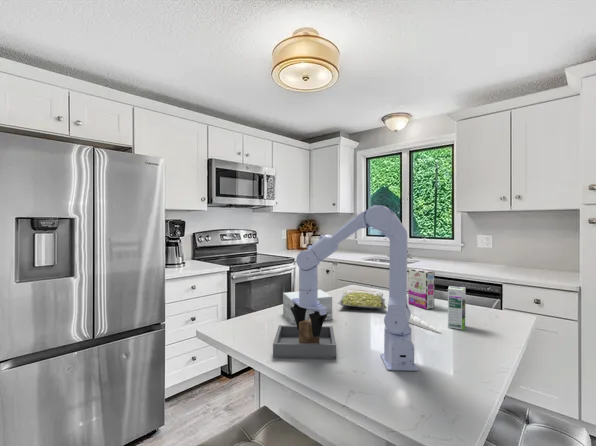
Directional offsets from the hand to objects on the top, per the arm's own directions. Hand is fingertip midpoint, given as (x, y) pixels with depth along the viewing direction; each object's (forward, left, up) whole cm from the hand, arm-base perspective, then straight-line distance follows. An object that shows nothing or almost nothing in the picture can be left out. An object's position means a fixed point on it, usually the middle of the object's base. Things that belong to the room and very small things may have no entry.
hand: (308, 332), depth 101 cm
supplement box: (+31, +1, -5) cm, 31 cm away
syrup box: (+21, -54, -5) cm, 58 cm away
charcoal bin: (0, +1, -5) cm, 5 cm away
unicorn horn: (+24, -40, -5) cm, 47 cm away
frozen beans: (+50, -24, -5) cm, 56 cm away
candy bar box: (+48, -50, -5) cm, 70 cm away
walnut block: (0, 0, -4) cm, 4 cm away
